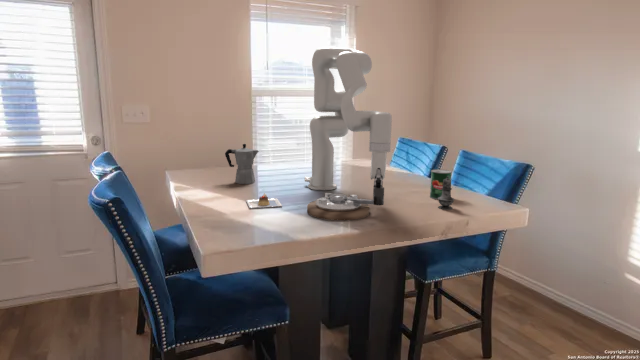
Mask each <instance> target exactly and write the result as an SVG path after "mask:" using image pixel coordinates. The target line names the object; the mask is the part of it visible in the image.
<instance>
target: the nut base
mask: <svg viewBox="0 0 640 360" xmlns="http://www.w3.org/2000/svg"><path fill="white" fill-rule="evenodd" d="M370 208H371V207H370V204H361V208H359V209H357V210H353V211H345V212H336V211H327V210H322V209H319V208H317V207H316V200H314V201H311V202H309V203H307V205H306V213H307V214H308V215H310V216H311V217H312V218H316V219H320V220H325V221H326V220H327V221H341V222H342V221H354V220H360V219H363V218H366V217H368V216H369V215H370Z"/></svg>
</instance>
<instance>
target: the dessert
mask: <svg viewBox="0 0 640 360" xmlns="http://www.w3.org/2000/svg"><path fill="white" fill-rule="evenodd" d="M245 201H246V204H247V206H248V208H249V209H250V210H251V209H252V210H253V209H269V208H271V209H272V208H280V207H283V205H282V203H281V202H280V200H279V199H278V198H277V197H275V198H269V197H268V195H267V194H266V193H265V192H264V193H263V195H262V196H259V198H258V199H246V200H245ZM271 201H272V202H274V203H275V204H276V205H273V206H272V205H271V206H270V202H271ZM254 202H255V203H256V202H257V205H258V206H252V204H251V203H254Z"/></svg>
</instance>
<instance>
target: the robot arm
mask: <svg viewBox="0 0 640 360" xmlns="http://www.w3.org/2000/svg"><path fill="white" fill-rule="evenodd" d="M311 66H312V67H311V68H312V73H313V78H314V83H313V84H314V85H313V87H314V88H313V90H314V91H313V105H314V106H313V107H314V110H316V112H317V113H318V112H319V113H334V115H317V116H314V117H313V118H312V119H311V121H310V123H309V132H310V137H311V176H304V182H307V183H309V184H308V186H307V187H308V188H309V189H310V190H313V191H330V190H331V191H333V190H335V189H337V188H338V186H337V184H336V183H334V168H335V167H334V164H335V163H334V161H335V160H334V157H335V155H334V153H335V151H334V150H335V149H334V145H333V143H332V141H331V139H332V138H342V137H346V136H347V134H348V133H349V131H351V132H354V133H355V132H356V133H357V132H360V133H361V132H369V142H368V143H369V144H368V145H369V146H368V152H371V159H370V160H371V161H370V180H372V181H373V192H374V187H383V184H384V180H385V178H386V176H385V175H386V169H387V159H388V157H387V156H388V155H387V154H388V153H390V152H391V145H392V144H391V142H392V122H393V117H392V114H391V113H390V112H386V111H385V112H384V111H378V110H356V109H355V104H354V102H353V99H354V98H355V97H357V96H359V95H360V94H362V93H363V92H365V90H366V89H367V86H368V85H367V81H366V78H365V76H366V75H367V74H369V73H370V72H371V70H372V67H373V63H372V58H371V56H370V55H369V54H368V53H366V52H364V51H360V50H357V49H353V48H348V47H336V46H322V47H318V48H317V49H315V51H314V53H313V56H312V60H311ZM331 69H332V70H337V72H338V75H339V77H340V79H341V83H342V86H343V89H344V90H341V89H335V77H334V75H333V72H332V71H331ZM364 75H365V76H364ZM330 138H331V139H330Z"/></svg>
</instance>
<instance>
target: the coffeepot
mask: <svg viewBox="0 0 640 360" xmlns="http://www.w3.org/2000/svg"><path fill="white" fill-rule="evenodd" d="M259 152H260V151H259V150H256V149H253V148H248V147H247V144H246V143H243V144H242V147H241V148H238V149H235V148H233V149H232V148H231V149H230V148H229V149H227V150H226V151H225V153H224V156H225V158H226V161H227V162H228V166H229V167H230V168H234V167H235V164H236V165H237V169H236V174H235V181H234V182H235V183H236V184H238V185H250V184H255V182H256V178H255V173H254V168H253V165H254V159H255V158H256V157H257V154H258V153H259ZM230 154H234V159H235V164H232V159H231V157H230Z"/></svg>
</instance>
